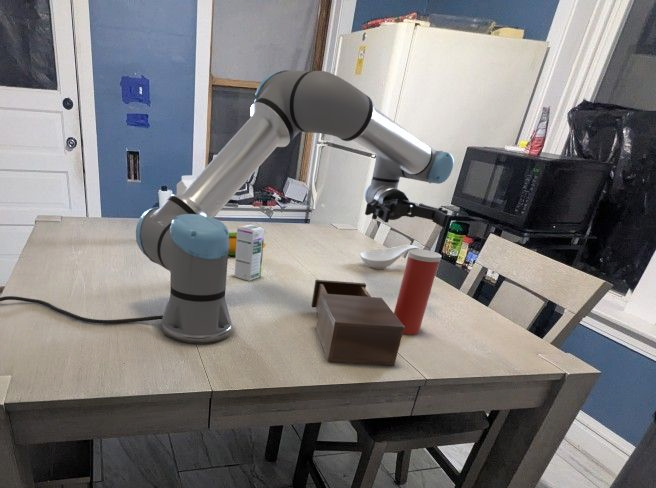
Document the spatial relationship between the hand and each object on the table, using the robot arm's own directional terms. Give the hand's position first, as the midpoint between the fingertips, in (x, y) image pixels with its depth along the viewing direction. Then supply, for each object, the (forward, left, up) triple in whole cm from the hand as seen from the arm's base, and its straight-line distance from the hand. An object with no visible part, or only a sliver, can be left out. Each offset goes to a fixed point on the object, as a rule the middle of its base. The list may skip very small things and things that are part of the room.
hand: (416, 218), depth 113 cm
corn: (-32, +52, -24) cm, 66 cm away
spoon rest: (+20, +42, -24) cm, 53 cm away
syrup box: (-33, +28, -24) cm, 49 cm away
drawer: (-16, -3, -23) cm, 28 cm away
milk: (-47, +69, -24) cm, 87 cm away
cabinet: (-19, -19, -24) cm, 35 cm away
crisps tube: (-2, -10, -24) cm, 26 cm away
